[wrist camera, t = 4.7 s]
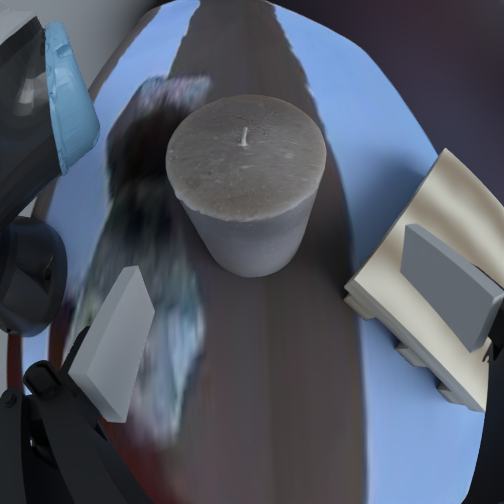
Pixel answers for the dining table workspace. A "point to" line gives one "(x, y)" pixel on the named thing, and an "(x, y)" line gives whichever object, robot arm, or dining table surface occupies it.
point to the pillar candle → (247, 179)
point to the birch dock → (411, 301)
